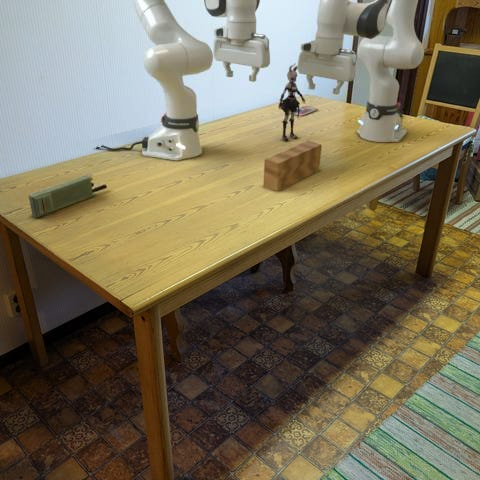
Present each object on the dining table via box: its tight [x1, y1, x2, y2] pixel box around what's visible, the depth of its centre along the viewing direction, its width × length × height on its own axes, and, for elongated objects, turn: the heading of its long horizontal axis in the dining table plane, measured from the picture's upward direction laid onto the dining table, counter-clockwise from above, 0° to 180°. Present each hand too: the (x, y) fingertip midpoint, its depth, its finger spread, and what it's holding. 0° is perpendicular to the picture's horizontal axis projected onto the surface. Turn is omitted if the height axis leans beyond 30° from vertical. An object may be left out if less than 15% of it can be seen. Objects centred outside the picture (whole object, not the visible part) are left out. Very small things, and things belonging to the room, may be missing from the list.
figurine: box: [278, 62, 306, 142], centre depth 199 cm, size 15×6×30 cm, turn 132°
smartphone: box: [290, 105, 318, 117], centre depth 242 cm, size 7×1×15 cm
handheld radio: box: [28, 173, 108, 219], centre depth 150 cm, size 7×3×25 cm
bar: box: [263, 140, 323, 192], centre depth 168 cm, size 24×6×10 cm, turn 139°
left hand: (240, 79), depth 159 cm, fingers open, 8 cm apart
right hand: (323, 91), depth 167 cm, fingers open, 8 cm apart
